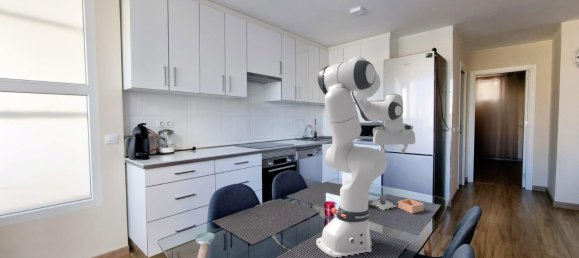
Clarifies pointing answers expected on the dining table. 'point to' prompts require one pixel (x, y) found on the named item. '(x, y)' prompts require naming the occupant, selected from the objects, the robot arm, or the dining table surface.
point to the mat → (382, 208)
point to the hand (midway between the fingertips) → (393, 153)
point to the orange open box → (411, 206)
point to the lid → (383, 203)
